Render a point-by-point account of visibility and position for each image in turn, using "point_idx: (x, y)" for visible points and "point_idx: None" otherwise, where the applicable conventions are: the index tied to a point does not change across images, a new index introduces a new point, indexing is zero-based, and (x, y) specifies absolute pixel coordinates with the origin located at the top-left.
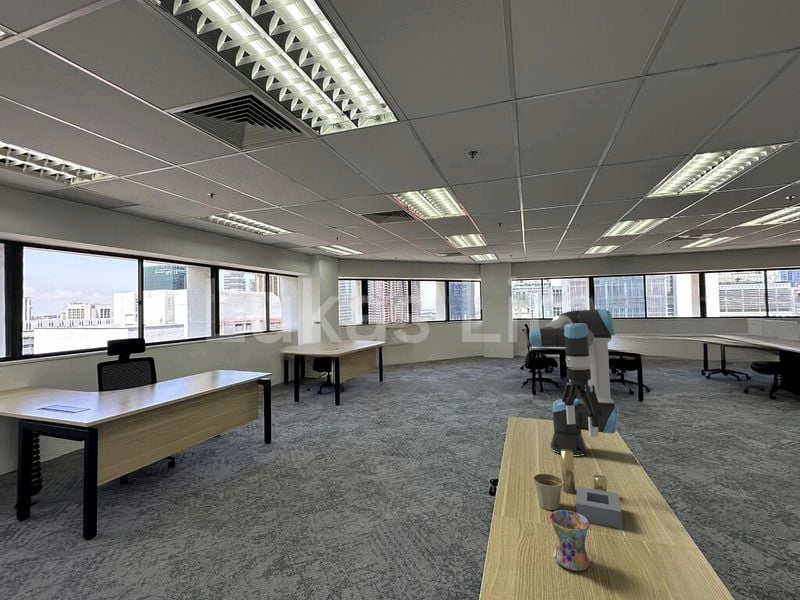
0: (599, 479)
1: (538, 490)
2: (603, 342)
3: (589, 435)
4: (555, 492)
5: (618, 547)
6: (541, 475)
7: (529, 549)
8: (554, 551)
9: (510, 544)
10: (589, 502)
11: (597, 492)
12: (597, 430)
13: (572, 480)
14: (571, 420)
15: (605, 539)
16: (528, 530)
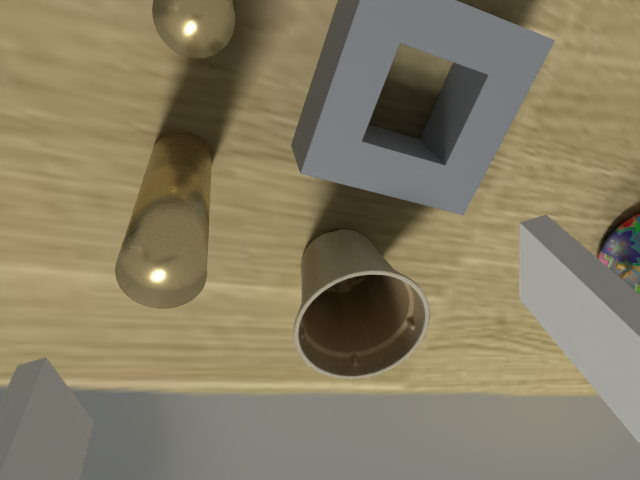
0: (230, 31)
1: (371, 336)
2: None
3: (527, 302)
4: (405, 287)
5: (609, 92)
6: (301, 343)
7: None
8: None
9: (539, 367)
10: (461, 158)
11: (364, 88)
12: (590, 261)
13: (205, 171)
14: (62, 434)
15: (562, 120)
16: (485, 329)
